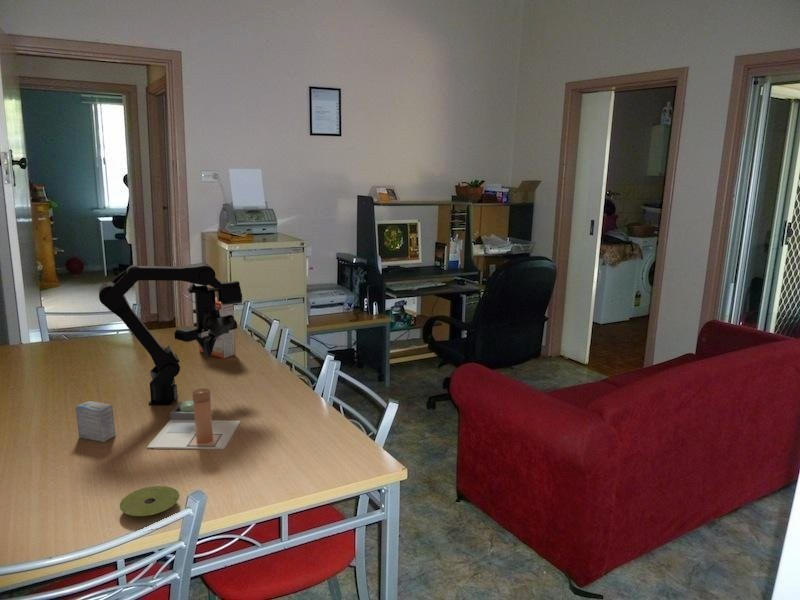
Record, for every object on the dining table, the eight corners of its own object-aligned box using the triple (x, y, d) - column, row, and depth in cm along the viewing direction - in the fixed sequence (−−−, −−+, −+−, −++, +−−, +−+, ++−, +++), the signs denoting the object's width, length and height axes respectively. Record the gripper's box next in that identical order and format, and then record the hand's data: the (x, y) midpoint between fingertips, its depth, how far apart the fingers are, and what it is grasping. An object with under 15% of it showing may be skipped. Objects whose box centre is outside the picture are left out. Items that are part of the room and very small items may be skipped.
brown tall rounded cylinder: (192, 442, 150) (188, 393, 147) (202, 435, 154) (199, 387, 151) (206, 444, 149) (203, 395, 146) (216, 437, 153) (213, 389, 150)
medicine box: (116, 435, 154) (113, 404, 152) (102, 443, 150) (99, 411, 148) (92, 431, 156) (89, 399, 154) (78, 438, 152) (74, 406, 150)
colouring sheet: (147, 448, 147) (146, 446, 147) (170, 421, 163) (170, 419, 163) (224, 449, 148) (224, 447, 148) (240, 422, 163) (240, 420, 163)
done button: (177, 417, 164) (177, 407, 164) (183, 410, 169) (183, 400, 169) (196, 418, 165) (195, 407, 164) (201, 410, 169) (201, 400, 169)
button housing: (170, 421, 163) (169, 412, 163) (180, 409, 171) (179, 401, 170) (199, 421, 163) (199, 413, 163) (208, 409, 171) (208, 401, 170)
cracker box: (198, 352, 222) (195, 297, 217) (211, 348, 227) (208, 294, 222) (222, 359, 214) (220, 302, 210) (236, 355, 219) (233, 299, 214)
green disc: (138, 491, 128) (137, 483, 128) (189, 495, 127) (188, 487, 127) (108, 522, 117) (107, 513, 117) (164, 526, 116) (163, 517, 116)
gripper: (196, 316, 164) (199, 370, 168) (248, 304, 179) (250, 354, 183) (171, 310, 170) (175, 362, 174) (223, 299, 185) (226, 347, 189)
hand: (208, 356), depth 180 cm, fingers closed
